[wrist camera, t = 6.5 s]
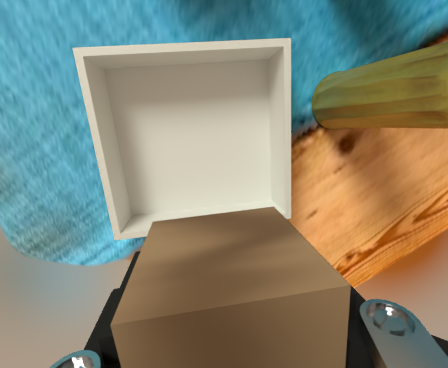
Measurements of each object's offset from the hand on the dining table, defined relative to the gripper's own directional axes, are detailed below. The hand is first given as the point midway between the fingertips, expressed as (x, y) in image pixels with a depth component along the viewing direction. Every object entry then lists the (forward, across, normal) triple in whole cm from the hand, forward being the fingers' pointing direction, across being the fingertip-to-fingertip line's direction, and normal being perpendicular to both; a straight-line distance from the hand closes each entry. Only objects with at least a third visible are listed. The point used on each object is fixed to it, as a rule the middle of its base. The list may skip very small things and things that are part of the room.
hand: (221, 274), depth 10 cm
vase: (+18, -16, -7) cm, 25 cm away
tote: (+18, 0, -4) cm, 18 cm away
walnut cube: (+1, 0, 0) cm, 1 cm away
